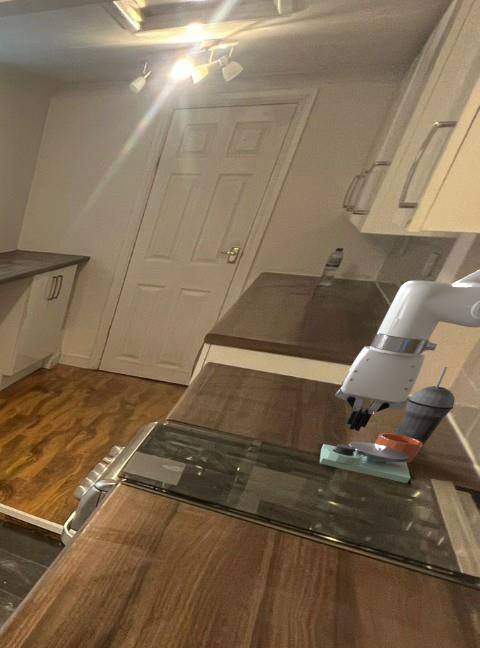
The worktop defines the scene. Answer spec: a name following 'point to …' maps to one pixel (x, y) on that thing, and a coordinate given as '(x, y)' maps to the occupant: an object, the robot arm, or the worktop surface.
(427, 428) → the beverage cup
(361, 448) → the scale pan
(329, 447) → the scale
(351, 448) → the tare button
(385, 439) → the bowl
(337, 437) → the worktop surface
